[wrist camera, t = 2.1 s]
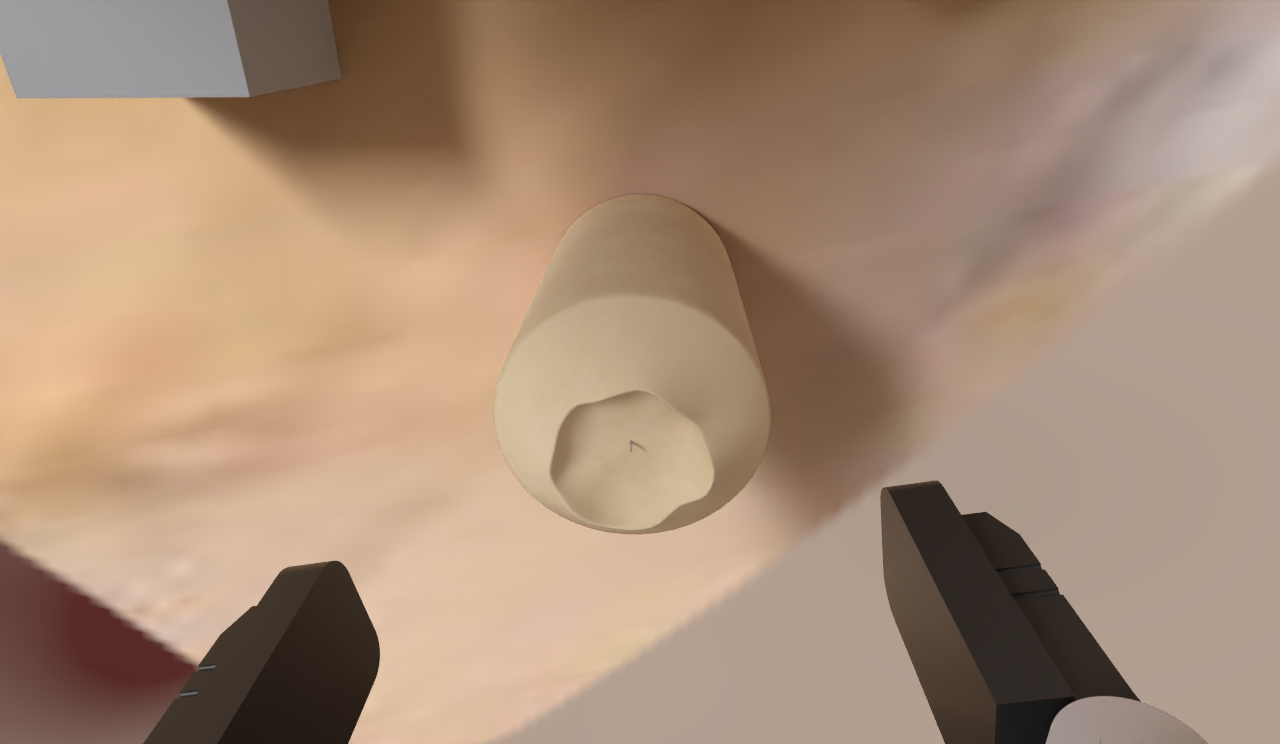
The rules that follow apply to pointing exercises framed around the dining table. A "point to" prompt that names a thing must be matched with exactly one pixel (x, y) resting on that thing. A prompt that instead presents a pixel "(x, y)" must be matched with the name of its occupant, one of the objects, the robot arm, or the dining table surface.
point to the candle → (634, 374)
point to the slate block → (165, 47)
